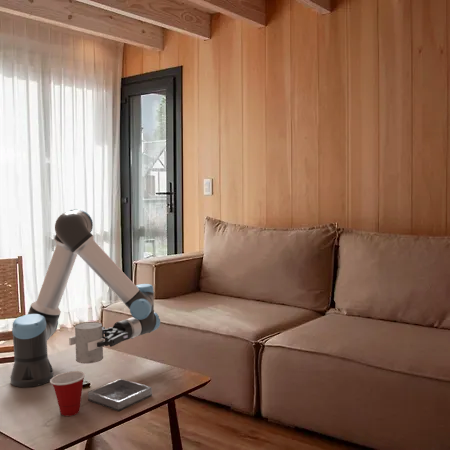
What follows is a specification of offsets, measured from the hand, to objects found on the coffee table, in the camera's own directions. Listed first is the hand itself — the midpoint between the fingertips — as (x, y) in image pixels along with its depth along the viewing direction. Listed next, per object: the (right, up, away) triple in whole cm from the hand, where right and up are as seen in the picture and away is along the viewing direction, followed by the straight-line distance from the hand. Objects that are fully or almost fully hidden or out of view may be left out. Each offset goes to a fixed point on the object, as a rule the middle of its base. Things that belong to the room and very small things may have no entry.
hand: (79, 344), depth 200 cm
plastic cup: (+1, -18, -18) cm, 26 cm away
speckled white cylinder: (+3, -6, +4) cm, 8 cm away
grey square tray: (+16, -17, -7) cm, 24 cm away
